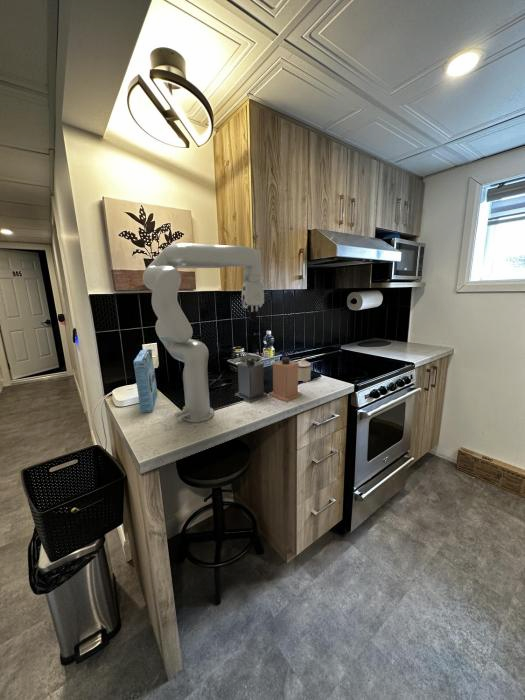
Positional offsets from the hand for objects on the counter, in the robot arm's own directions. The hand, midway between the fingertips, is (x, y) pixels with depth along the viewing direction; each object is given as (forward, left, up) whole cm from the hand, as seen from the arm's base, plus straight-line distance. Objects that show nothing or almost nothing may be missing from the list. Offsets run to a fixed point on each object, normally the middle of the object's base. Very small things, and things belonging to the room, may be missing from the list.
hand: (252, 320), depth 126 cm
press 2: (+7, -14, -36) cm, 39 cm away
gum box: (-43, +24, -36) cm, 61 cm away
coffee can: (+6, +10, -36) cm, 38 cm away
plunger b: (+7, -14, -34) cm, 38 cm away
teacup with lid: (+30, -5, -36) cm, 47 cm away
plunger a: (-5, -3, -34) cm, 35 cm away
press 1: (-5, -3, -36) cm, 36 cm away
